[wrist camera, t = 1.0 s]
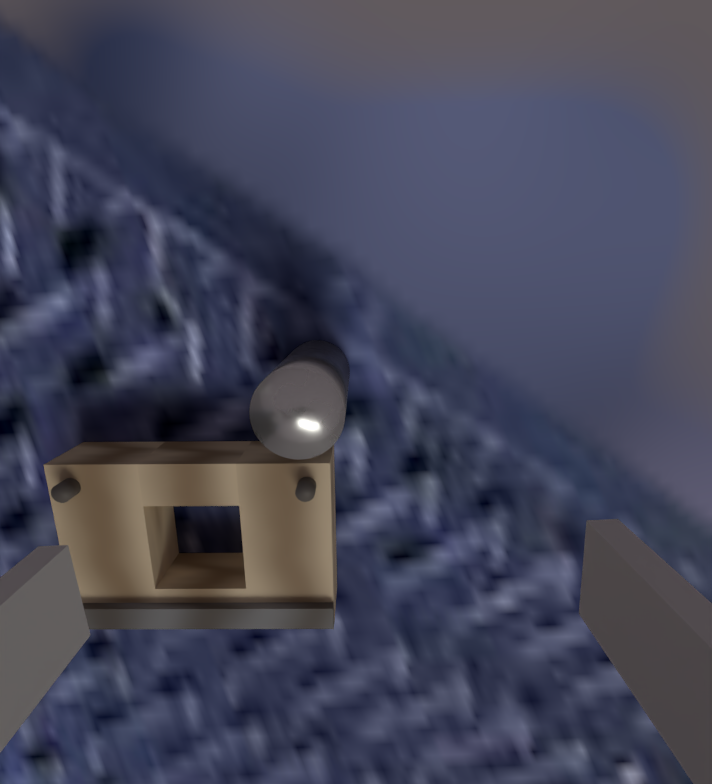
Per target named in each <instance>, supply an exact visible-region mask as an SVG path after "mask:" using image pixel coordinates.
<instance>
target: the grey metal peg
mask: <svg viewBox="0 0 712 784" xmlns="http://www.w3.org/2000/svg"><path fill="white" fill-rule="evenodd" d="M349 376H350V369H349V364H348V361H347V359H346V357H345V355H344V354H343V352H342V351H341V350H340V349H339V348H338V347H336V346H335V345H333V344H331V343H329V342H326V341H322V340H312V341H308V342H305V343H303V344H301V345H299V346H298V347H297V348H295V349H294V350H293V351H292V352H291V353H290V354H289V355H288V356H287V357H286V358H285V359H284V360H283V361H282V362H281V363H280V364H279V365H278V366H277V367H276V368H275V369H274V370H273V371H272V372H271V373H270V374H269V375H268V376H267V377H266V378H265V379H264V380H263V381H262V382H261V383H260V384H259V386H258V387H257V388H256V390H255V392H254V394H253V396H252V399H251V402H250V409H249V416H250V422H251V426H252V428H253V431H254V433H255V435H256V436H257V438H258V439H259V441H260V442H261V443H262V444H263V445H264V446H265V447H266V448H267V449H269V450H270V451H272V452H273V453H275V454H277V455H279V456H282V457H285V458H289V459H297V460H301V459H309V458H313V457H316V456H318V455H320V454H322V453H324V452H326V451H327V450H328V449H330V448H331V447H332V446H333V445H334V444H335V442H336V441H337V440H338V438H339V436H340V434H341V432H342V430H343V427H344V422H345V413H346V404H347V395H348V385H349Z"/></svg>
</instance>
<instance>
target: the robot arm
mask: <svg viewBox="0 0 712 784" xmlns="http://www.w3.org/2000/svg"><path fill="white" fill-rule="evenodd" d="M579 614H580V616H581V617H582V619H583V620H584V622H585V623H586V625H587V626H588V628H589V629H590V631H591V632H592V634H593V635H594V637H595V638H596V640H597V641H598V643H599V644H600V646H601V647H602V649H603V650H604V652H605V653H606V655H607V656H608V658H609V659H610V660H611V662H612V663H613V665H614V666H615V668H616V669H617V671H618V672H619V674H620V675H621V677H622V678H623V680H624V681H625V683H626V684H627V686H628V687H629V689H630V690H631V692H632V693H633V695H634V696H635V698H636V699H637V701H638V702H639V704H640V705H641V706H642V708H643V709H644V711H645V712H646V714H647V715H648V717H649V718H650V720H651V721H652V723H653V724H654V726H655V727H656V729H657V730H658V732H659V733H660V735H661V736H662V738H663V739H664V741H665V742H666V744H667V745H668V747H669V748H670V750H671V751H672V753H673V754H674V755H675V757H676V758H677V760H678V761H679V763H680V764H681V766H682V767H683V769H684V770H685V772H686V773H687V775H688V776H689V778H690V779H691V781H692V782H693V784H712V603H710V602H709V601H708V600H707V599H706V598H705V597H704V596H703V595H702V594H700V593H699V592H698V591H697V590H696V589H695V588H694V587H693V586H692V585H690V584H689V583H688V582H687V581H686V580H685V579H684V578H683V577H682V576H680V575H679V574H678V573H677V572H676V571H675V570H674V569H673V568H672V567H670V566H669V565H668V564H667V563H666V562H665V561H664V560H663V559H662V558H660V557H659V556H658V555H657V554H656V553H655V552H654V551H653V550H652V549H650V548H649V547H648V546H647V545H646V544H645V543H644V542H643V541H642V540H640V539H639V538H638V537H637V536H636V535H635V534H634V533H633V532H631V531H630V530H629V529H628V528H627V527H626V526H625V525H624V524H623V523H621V522H620V521H619V520H618V519H609V520H588V521H587V524H586V536H585V548H584V559H583V571H582V583H581V595H580V607H579ZM89 636H90V631H89V627H88V623H87V619H86V615H85V611H84V607H83V603H82V599H81V595H80V591H79V587H78V583H77V579H76V575H75V571H74V567H73V563H72V559H71V555H70V551H69V547H68V545H60V546H39V547H37V548H36V549H35V550H34V551H32V552H31V553H30V554H29V555H28V556H26V557H25V558H24V559H23V560H21V561H20V562H19V563H18V564H17V565H15V566H14V567H13V568H12V569H10V570H9V571H8V572H7V573H5V574H4V575H3V576H2V577H1V578H0V752H1V751H2V750H3V748H4V747H5V746H6V745H7V743H8V742H9V741H10V739H11V738H12V737H13V735H14V734H15V733H16V732H17V730H18V729H19V728H20V726H21V725H22V724H23V722H24V721H25V720H26V718H27V717H28V716H29V715H30V713H31V712H32V711H33V709H34V708H35V707H36V705H37V704H38V703H39V701H40V700H41V699H42V698H43V696H44V695H45V694H46V692H47V691H48V690H49V688H50V687H51V686H52V684H53V683H54V682H55V681H56V679H57V678H58V677H59V675H60V674H61V673H62V671H63V670H64V669H65V667H66V666H67V665H68V664H69V662H70V661H71V660H72V658H73V657H74V656H75V654H76V653H77V652H78V650H79V649H80V648H81V647H82V645H83V644H84V643H85V641H86V640H87V639H88V637H89Z"/></svg>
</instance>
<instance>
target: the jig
mask: <svg viewBox="0 0 712 784" xmlns="http://www.w3.org/2000/svg"><path fill="white" fill-rule="evenodd" d="M44 470H45V475H46V480H47V485H48V490H49V495H50V499H51V504H52V509H53V514H54V519H55V524H56V529H57V534H58V539H59V544H60V545H68V547H69V551H70V555H71V559H72V563H73V567H74V571H75V575H76V579H77V583H78V587H79V591H80V595H81V599H82V603H83V607H84V611H85V615H86V619H87V623H88V627H89V629H334V620H335V606H336V593H337V561H336V516H335V472H334V445H333V446H332V447H331V448H330V449H328V450H327V451H326V452H324V453H322V454H320V455H318V456H316V457H313V458H309V459H301V460H297V459H289V458H285V457H282V456H279V455H277V454H275V453H273V452H272V451H270V450H269V449H267V448H266V447H265V446H264V445H263V444H262V443H261V442H260V441H189V442H83V443H81V444H79V445H77V446H76V447H74V448H72V449H70V450H69V451H67V452H65V453H63V454H62V455H60V456H58V457H56V458H55V459H53V460H51V461H49V462H48V463H46V464H44ZM173 506H239V508H240V521H241V533H242V545H243V553H179V548H178V540H177V532H176V524H175V516H174V508H173Z"/></svg>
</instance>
